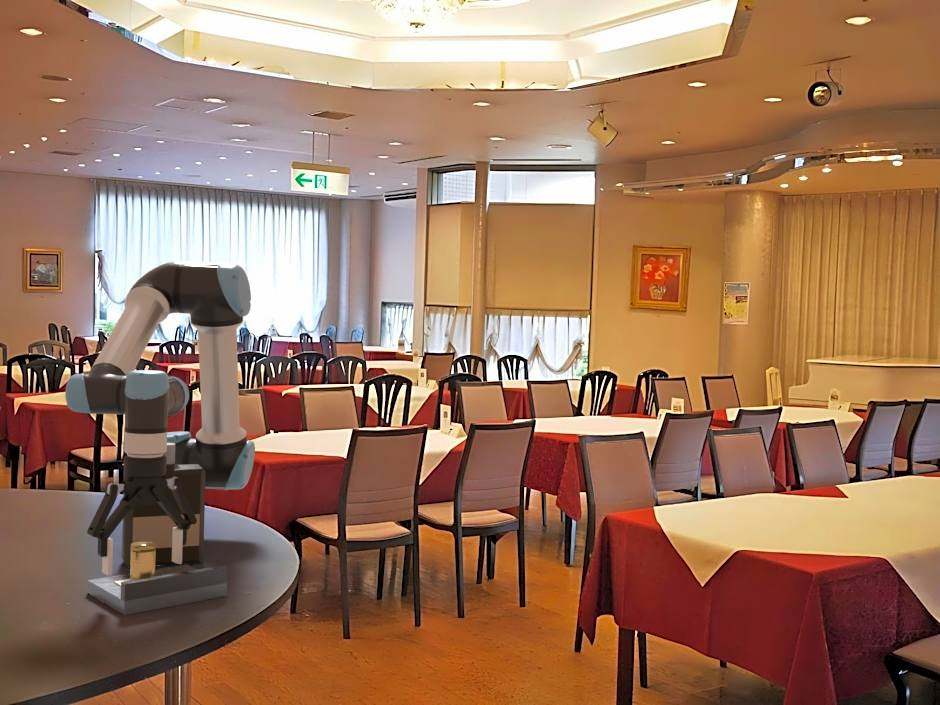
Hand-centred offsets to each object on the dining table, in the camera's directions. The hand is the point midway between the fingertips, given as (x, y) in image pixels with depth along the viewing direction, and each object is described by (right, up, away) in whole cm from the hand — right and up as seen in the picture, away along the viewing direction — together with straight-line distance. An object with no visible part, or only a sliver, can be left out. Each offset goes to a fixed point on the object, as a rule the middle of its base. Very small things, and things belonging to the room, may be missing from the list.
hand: (142, 568), depth 188 cm
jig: (+2, -6, +2) cm, 6 cm away
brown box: (-4, -4, +25) cm, 26 cm away
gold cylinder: (0, -6, 0) cm, 6 cm away
